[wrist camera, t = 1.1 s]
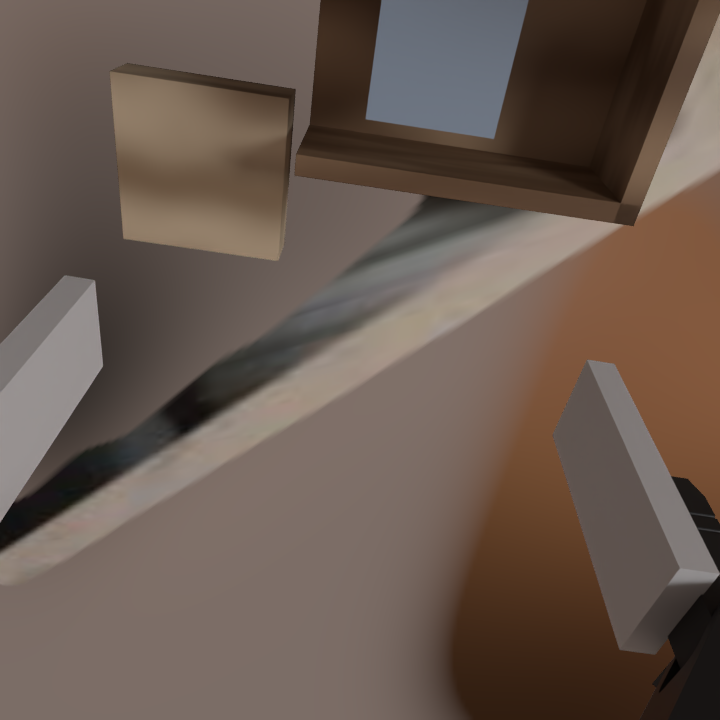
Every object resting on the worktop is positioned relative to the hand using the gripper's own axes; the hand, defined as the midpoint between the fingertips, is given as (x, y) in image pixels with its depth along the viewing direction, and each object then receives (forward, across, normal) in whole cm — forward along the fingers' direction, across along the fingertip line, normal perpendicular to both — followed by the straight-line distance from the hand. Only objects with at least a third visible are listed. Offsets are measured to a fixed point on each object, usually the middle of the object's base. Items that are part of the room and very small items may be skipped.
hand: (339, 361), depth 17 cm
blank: (+21, +2, +6) cm, 22 cm away
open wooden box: (+22, +5, +6) cm, 23 cm away
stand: (+22, -9, -3) cm, 24 cm away
